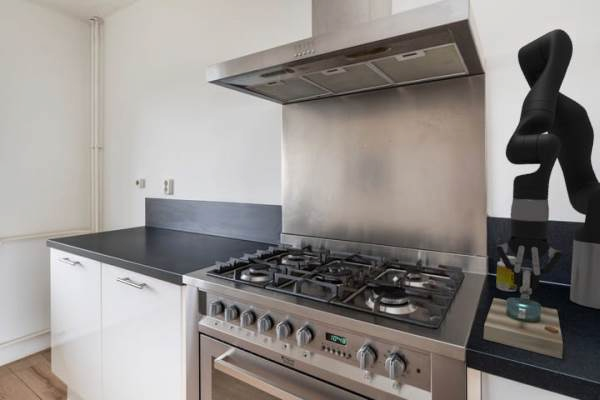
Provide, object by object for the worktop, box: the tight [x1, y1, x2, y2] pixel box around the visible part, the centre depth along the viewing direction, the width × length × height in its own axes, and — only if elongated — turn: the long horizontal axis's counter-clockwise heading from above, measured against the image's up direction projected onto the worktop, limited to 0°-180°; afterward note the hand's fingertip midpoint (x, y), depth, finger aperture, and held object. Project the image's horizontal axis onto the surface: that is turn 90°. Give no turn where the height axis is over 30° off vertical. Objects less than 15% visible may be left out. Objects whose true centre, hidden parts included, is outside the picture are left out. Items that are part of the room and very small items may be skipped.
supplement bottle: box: [495, 255, 518, 293], centre depth 101 cm, size 6×6×10 cm
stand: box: [483, 297, 564, 359], centre depth 74 cm, size 20×13×4 cm, turn 144°
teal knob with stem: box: [506, 266, 542, 322], centre depth 75 cm, size 17×6×9 cm, turn 143°
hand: (525, 287), depth 80 cm, fingers closed on teal knob with stem, 2 cm apart
